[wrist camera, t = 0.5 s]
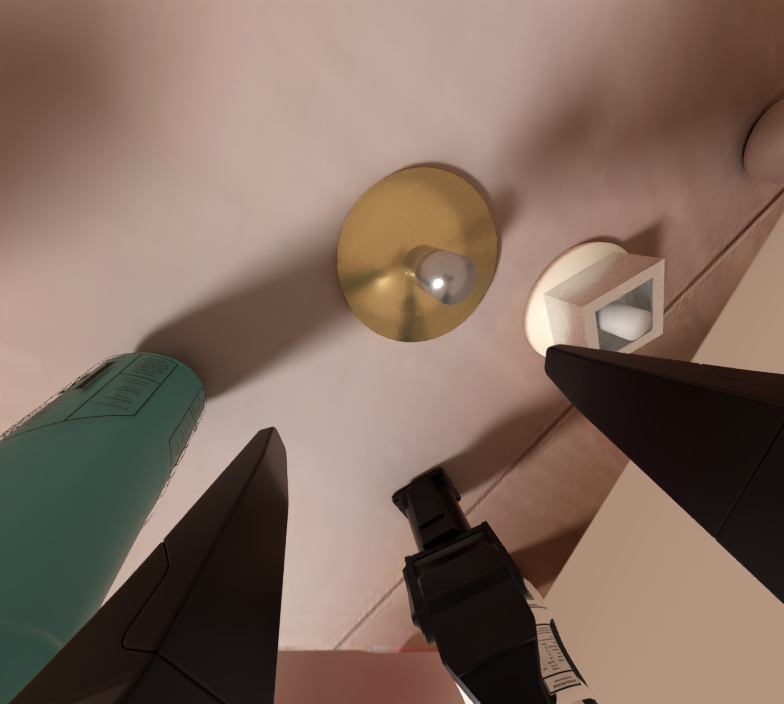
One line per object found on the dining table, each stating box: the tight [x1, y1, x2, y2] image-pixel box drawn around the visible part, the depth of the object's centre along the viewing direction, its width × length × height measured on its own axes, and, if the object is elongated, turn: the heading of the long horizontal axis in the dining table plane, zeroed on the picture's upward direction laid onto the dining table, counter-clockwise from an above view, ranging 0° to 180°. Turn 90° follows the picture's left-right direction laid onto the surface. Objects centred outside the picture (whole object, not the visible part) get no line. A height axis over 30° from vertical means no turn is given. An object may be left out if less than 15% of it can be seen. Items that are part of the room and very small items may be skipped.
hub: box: [337, 167, 497, 342], centre depth 19 cm, size 12×12×6 cm
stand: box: [524, 242, 652, 357], centre depth 24 cm, size 11×11×6 cm
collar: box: [543, 252, 665, 353], centre depth 24 cm, size 7×7×4 cm
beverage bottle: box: [0, 352, 206, 704], centre depth 12 cm, size 6×7×20 cm
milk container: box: [456, 577, 597, 704], centre depth 40 cm, size 17×17×18 cm
